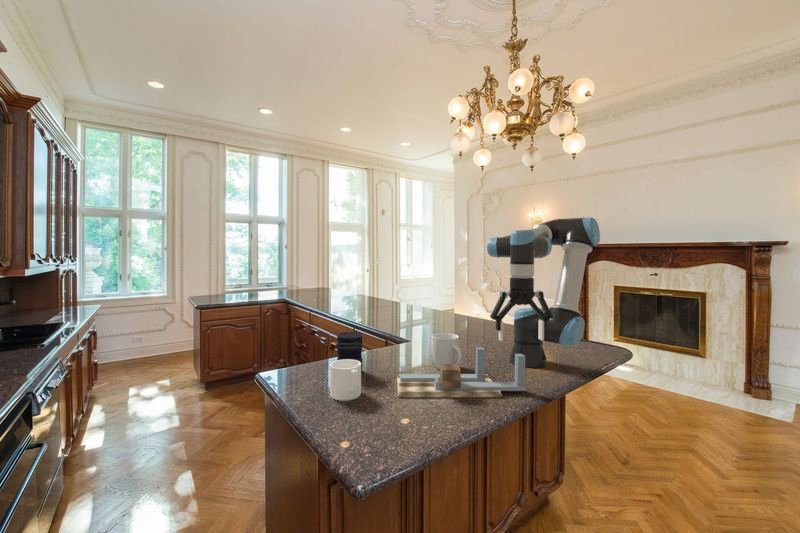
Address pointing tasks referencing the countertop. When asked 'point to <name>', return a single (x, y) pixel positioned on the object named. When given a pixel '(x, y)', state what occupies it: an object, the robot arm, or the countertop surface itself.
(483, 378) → the broken strip
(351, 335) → the storage jar
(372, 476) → the countertop surface
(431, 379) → the broken strip
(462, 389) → the strip
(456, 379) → the walnut block
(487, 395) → the lane board
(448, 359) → the mug
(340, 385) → the mug
